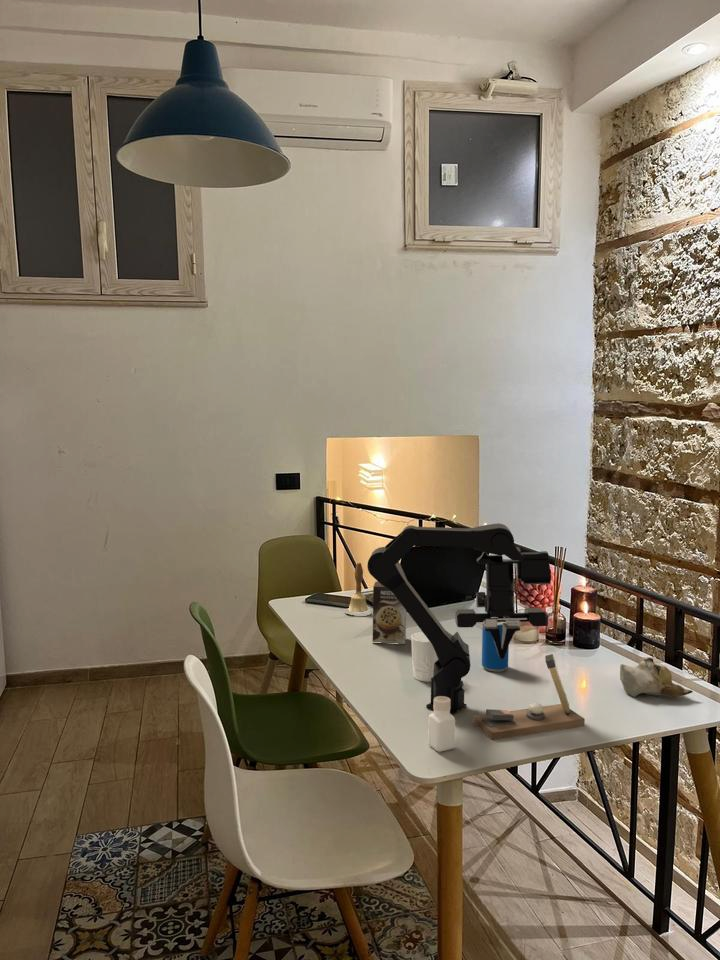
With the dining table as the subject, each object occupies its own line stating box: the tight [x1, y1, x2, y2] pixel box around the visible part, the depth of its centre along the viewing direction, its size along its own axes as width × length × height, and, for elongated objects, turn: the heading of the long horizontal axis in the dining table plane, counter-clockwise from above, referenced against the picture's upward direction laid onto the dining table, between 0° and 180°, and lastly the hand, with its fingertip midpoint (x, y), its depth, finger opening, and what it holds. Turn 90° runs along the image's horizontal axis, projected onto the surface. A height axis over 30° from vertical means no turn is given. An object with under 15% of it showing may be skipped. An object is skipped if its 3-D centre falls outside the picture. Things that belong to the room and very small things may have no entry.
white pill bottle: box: [427, 696, 456, 753], centre depth 141 cm, size 4×4×10 cm
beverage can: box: [481, 622, 510, 673], centre depth 184 cm, size 6×6×12 cm
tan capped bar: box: [545, 653, 571, 715], centre depth 154 cm, size 2×4×12 cm, turn 168°
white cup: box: [410, 631, 438, 683], centre depth 178 cm, size 8×8×10 cm
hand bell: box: [347, 562, 369, 612], centre depth 232 cm, size 8×8×16 cm
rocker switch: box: [484, 708, 514, 720], centre depth 149 cm, size 3×5×1 cm, turn 108°
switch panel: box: [473, 703, 586, 741], centre depth 152 cm, size 8×21×2 cm, turn 108°
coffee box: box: [371, 581, 407, 644], centre depth 205 cm, size 9×6×16 cm
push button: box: [528, 702, 543, 714], centre depth 152 cm, size 3×3×1 cm
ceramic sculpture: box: [619, 657, 693, 698], centre depth 168 cm, size 11×9×15 cm
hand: (501, 658), depth 156 cm, fingers closed
